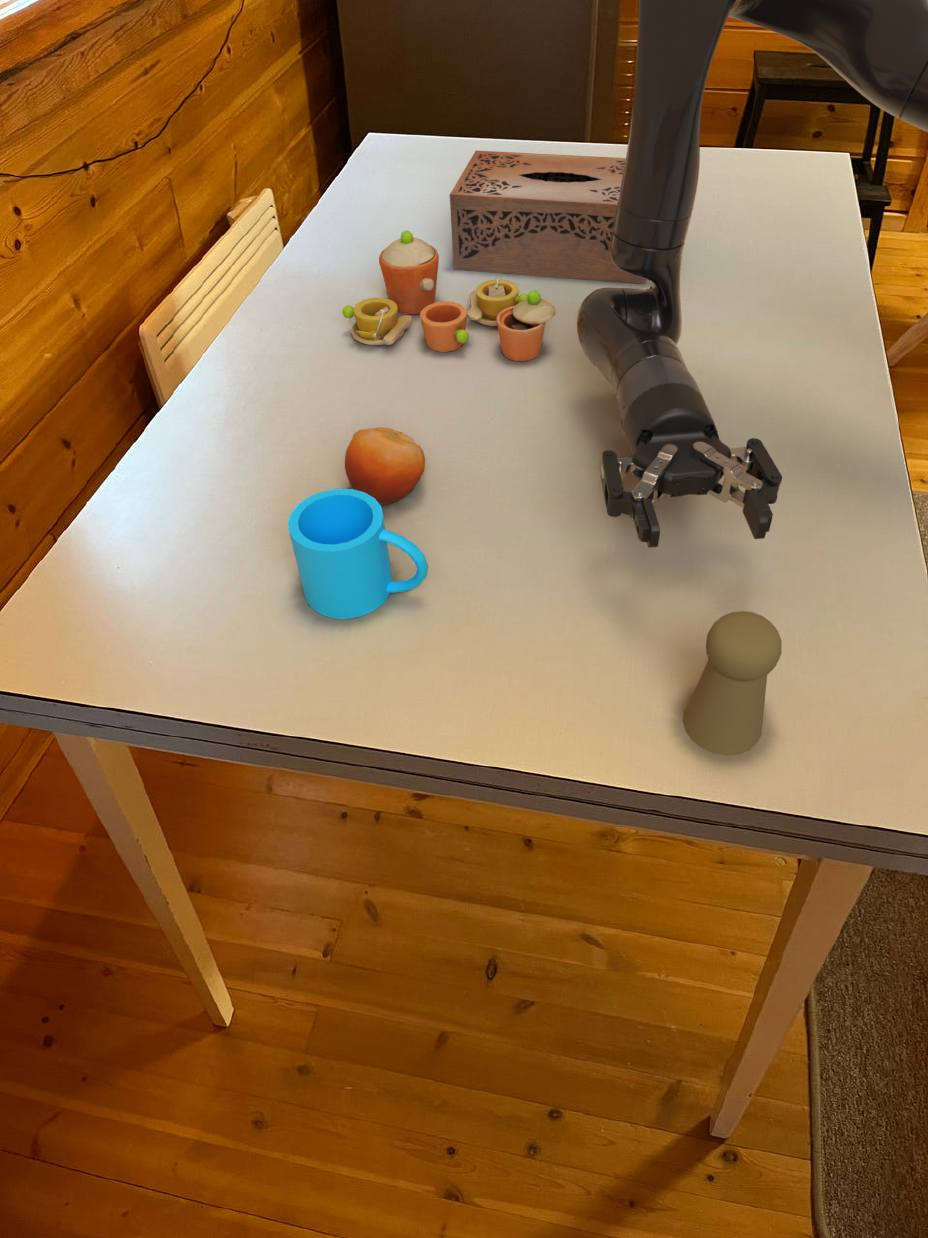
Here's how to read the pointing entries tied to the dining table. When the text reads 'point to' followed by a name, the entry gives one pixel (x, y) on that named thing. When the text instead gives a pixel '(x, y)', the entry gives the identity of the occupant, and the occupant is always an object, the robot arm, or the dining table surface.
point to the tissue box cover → (537, 215)
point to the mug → (347, 553)
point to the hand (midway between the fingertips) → (708, 535)
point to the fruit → (384, 464)
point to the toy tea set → (446, 306)
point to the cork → (733, 683)
